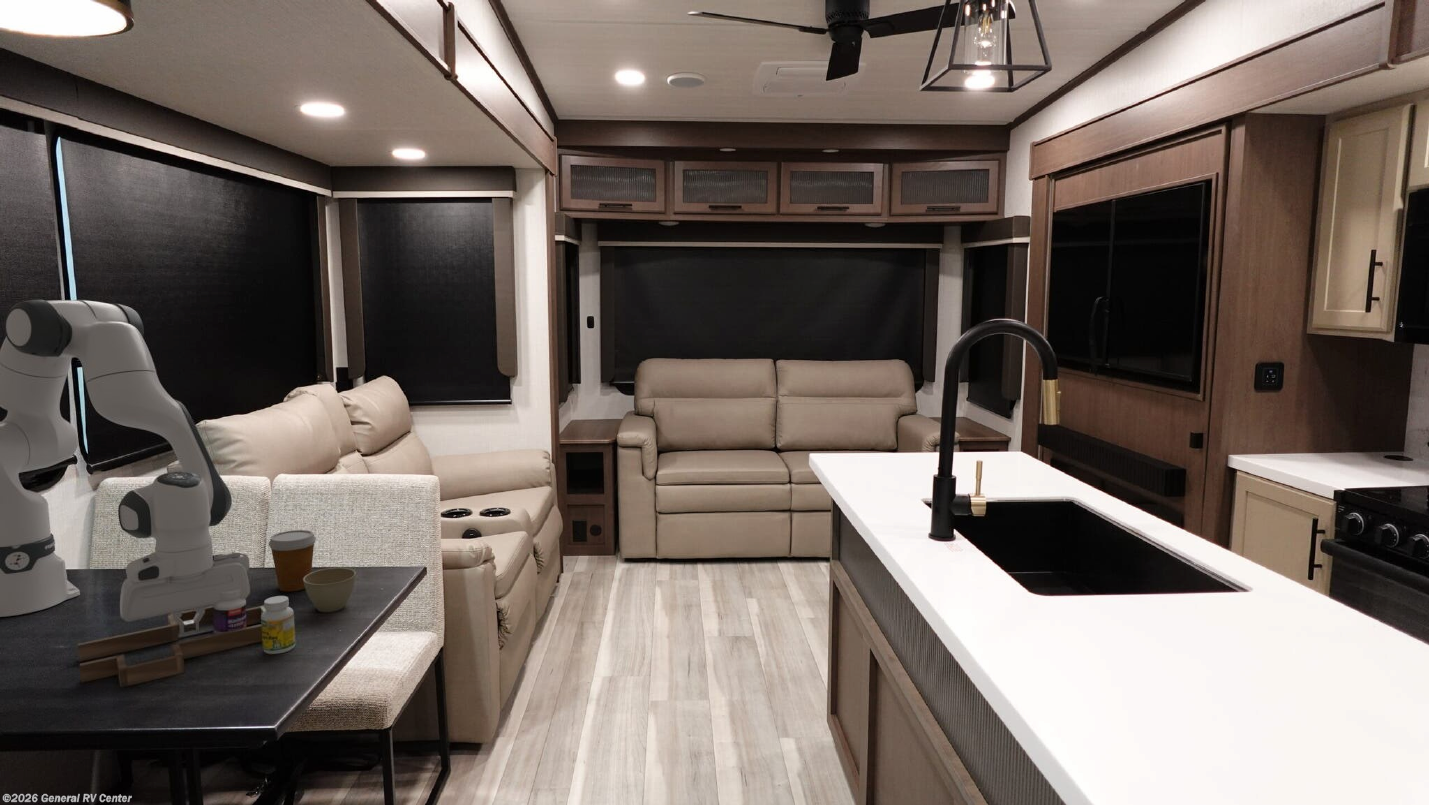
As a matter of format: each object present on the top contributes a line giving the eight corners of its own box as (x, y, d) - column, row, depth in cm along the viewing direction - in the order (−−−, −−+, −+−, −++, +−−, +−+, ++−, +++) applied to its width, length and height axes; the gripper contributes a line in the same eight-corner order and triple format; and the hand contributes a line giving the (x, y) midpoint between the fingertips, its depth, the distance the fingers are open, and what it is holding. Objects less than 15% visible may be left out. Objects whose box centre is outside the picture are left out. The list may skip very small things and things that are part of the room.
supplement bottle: (302, 645, 152) (299, 596, 150) (279, 656, 146) (276, 606, 145) (279, 640, 153) (276, 592, 152) (255, 652, 148) (253, 602, 147)
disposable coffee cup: (304, 594, 176) (302, 542, 175) (261, 593, 176) (259, 541, 175) (326, 579, 186) (323, 529, 184) (285, 578, 186) (282, 528, 184)
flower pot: (293, 612, 167) (292, 579, 166) (332, 596, 176) (331, 565, 175) (329, 620, 163) (327, 586, 162) (367, 603, 172) (366, 571, 171)
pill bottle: (231, 645, 151) (230, 595, 150) (206, 640, 152) (205, 591, 151) (253, 633, 156) (252, 586, 155) (229, 629, 157) (228, 582, 156)
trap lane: (77, 648, 148) (76, 632, 148) (259, 610, 167) (259, 596, 167) (82, 696, 131) (81, 679, 130) (285, 648, 150) (285, 632, 150)
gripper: (245, 545, 157) (248, 612, 159) (115, 566, 144) (121, 639, 146) (252, 553, 152) (255, 623, 154) (119, 576, 139) (124, 651, 141)
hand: (189, 631), depth 150 cm, fingers closed
